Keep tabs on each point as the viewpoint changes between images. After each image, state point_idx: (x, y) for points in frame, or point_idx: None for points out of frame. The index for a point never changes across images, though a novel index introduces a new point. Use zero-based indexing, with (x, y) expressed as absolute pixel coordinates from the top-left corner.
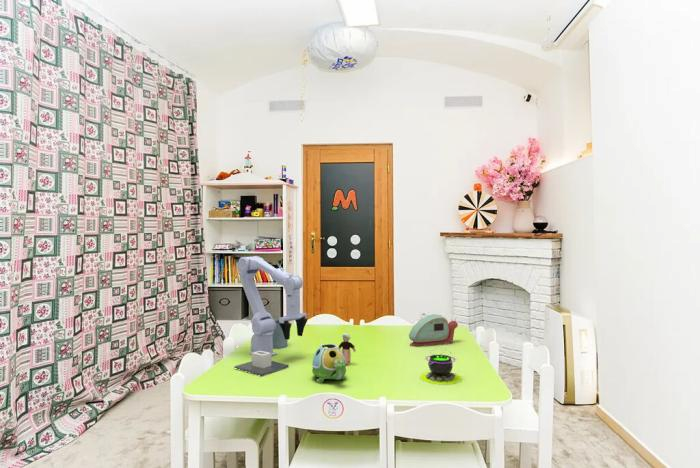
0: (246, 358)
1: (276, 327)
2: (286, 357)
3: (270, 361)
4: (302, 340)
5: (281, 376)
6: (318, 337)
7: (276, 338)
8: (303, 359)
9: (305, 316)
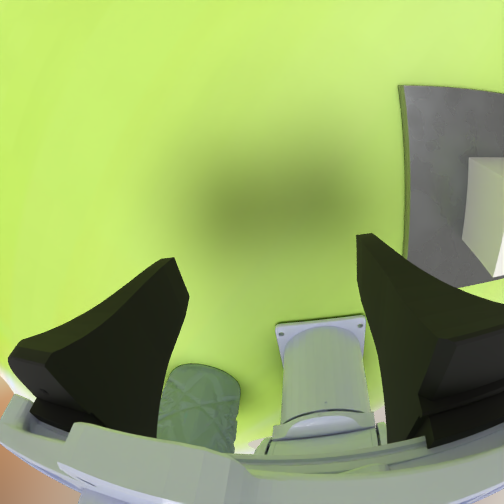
0: None
1: None
2: (276, 254)
3: (485, 165)
4: None
5: (493, 19)
6: None
7: (219, 409)
8: (223, 153)
9: (18, 415)
